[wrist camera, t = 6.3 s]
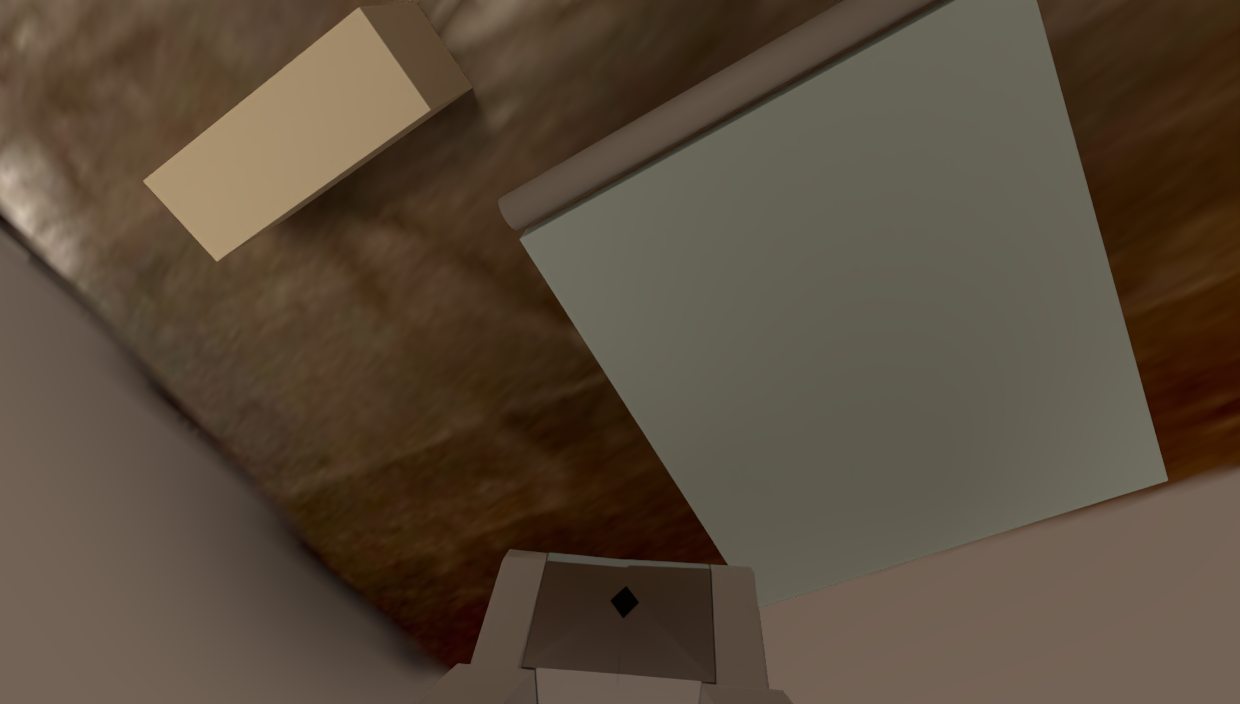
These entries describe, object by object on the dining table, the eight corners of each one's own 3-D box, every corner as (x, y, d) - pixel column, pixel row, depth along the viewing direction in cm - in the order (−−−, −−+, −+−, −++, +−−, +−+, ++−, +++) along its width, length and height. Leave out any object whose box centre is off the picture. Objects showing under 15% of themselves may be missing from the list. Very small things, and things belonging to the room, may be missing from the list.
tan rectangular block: (229, 148, 25) (143, 180, 21) (417, 1, 22) (358, 6, 18) (287, 218, 26) (216, 261, 22) (474, 87, 23) (430, 109, 19)
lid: (503, 193, 17) (494, 203, 16) (994, -90, 14) (1012, -95, 13) (754, 589, 23) (756, 611, 22) (1150, 462, 19) (1170, 482, 18)
